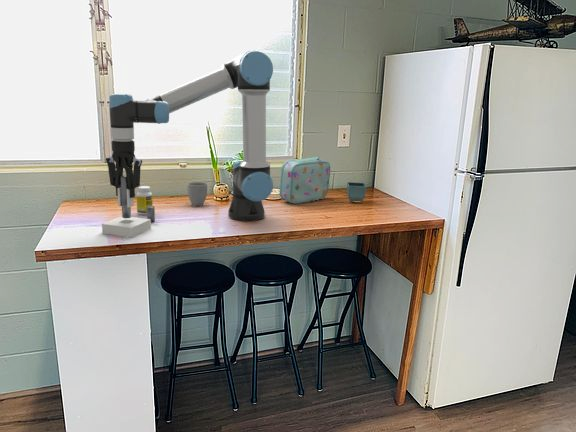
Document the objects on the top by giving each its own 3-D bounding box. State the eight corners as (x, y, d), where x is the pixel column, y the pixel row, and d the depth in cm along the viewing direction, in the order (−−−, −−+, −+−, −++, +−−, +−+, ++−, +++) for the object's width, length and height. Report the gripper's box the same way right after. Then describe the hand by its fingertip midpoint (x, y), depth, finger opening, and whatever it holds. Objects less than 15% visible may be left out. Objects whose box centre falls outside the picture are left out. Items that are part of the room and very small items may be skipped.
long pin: (132, 216, 170) (130, 175, 166) (127, 218, 168) (125, 177, 164) (125, 215, 171) (123, 175, 167) (120, 217, 168) (118, 176, 164)
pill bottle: (148, 215, 192) (147, 189, 189) (134, 214, 193) (133, 187, 190) (155, 212, 197) (154, 186, 195) (141, 210, 199) (140, 185, 196)
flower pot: (365, 204, 227) (367, 186, 225) (347, 203, 227) (348, 185, 225) (363, 200, 235) (364, 182, 233) (345, 199, 235) (346, 182, 233)
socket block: (151, 228, 175) (150, 219, 174) (132, 237, 164) (131, 227, 163) (123, 224, 178) (122, 215, 177) (102, 233, 167) (101, 223, 166)
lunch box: (315, 195, 242) (318, 154, 236) (330, 199, 234) (333, 156, 229) (276, 202, 224) (278, 157, 219) (291, 206, 217) (293, 160, 211)
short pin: (156, 221, 184) (156, 206, 183) (152, 223, 182) (151, 208, 180) (149, 220, 185) (149, 205, 184) (145, 222, 182) (144, 207, 181)
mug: (210, 206, 211) (210, 185, 209) (191, 207, 207) (190, 186, 205) (201, 200, 221) (201, 180, 219) (183, 201, 217) (182, 181, 215)
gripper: (149, 140, 164) (151, 206, 170) (109, 137, 168) (113, 201, 174) (136, 142, 157) (139, 210, 163) (95, 139, 161) (100, 205, 167)
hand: (126, 205), depth 168 cm, fingers closed on long pin, 3 cm apart
